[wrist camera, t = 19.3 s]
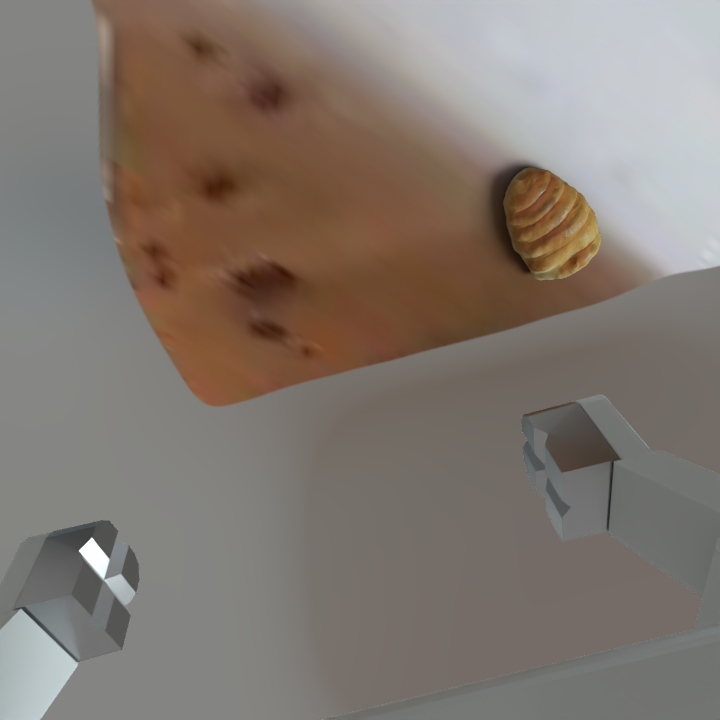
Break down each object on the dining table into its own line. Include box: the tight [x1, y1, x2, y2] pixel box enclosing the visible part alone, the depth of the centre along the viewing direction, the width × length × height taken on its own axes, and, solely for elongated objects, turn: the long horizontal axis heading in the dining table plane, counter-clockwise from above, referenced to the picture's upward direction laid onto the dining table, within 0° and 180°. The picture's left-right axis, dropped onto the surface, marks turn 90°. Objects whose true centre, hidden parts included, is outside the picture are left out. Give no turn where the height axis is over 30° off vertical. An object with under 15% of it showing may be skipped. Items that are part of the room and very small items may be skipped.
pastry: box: [503, 167, 601, 280], centre depth 43 cm, size 9×7×4 cm
